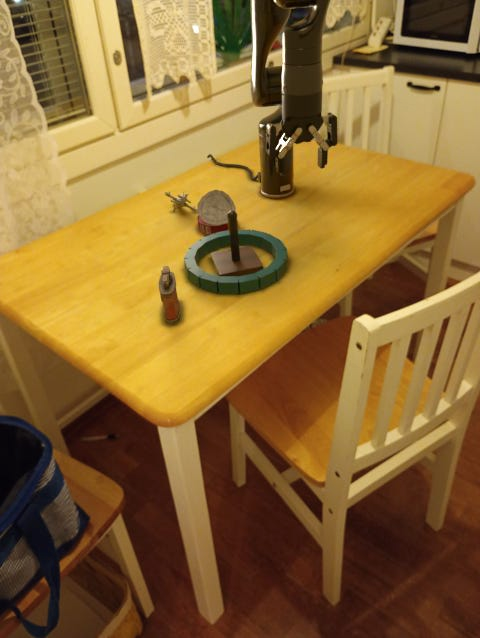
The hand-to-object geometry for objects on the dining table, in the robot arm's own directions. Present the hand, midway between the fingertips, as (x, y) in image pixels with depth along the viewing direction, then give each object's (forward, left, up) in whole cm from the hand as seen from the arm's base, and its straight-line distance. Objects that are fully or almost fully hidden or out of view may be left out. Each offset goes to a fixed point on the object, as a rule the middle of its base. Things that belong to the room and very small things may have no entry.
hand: (301, 170), depth 108 cm
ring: (-4, -15, -22) cm, 26 cm away
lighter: (+9, -32, -22) cm, 39 cm away
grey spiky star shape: (-37, -23, -22) cm, 48 cm away
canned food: (-24, -15, -22) cm, 35 cm away
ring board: (-4, -15, -22) cm, 26 cm away
